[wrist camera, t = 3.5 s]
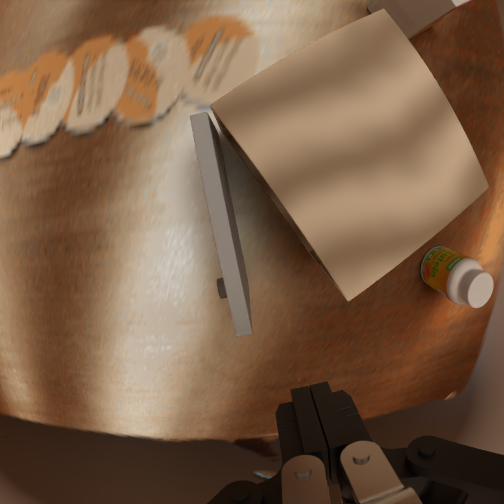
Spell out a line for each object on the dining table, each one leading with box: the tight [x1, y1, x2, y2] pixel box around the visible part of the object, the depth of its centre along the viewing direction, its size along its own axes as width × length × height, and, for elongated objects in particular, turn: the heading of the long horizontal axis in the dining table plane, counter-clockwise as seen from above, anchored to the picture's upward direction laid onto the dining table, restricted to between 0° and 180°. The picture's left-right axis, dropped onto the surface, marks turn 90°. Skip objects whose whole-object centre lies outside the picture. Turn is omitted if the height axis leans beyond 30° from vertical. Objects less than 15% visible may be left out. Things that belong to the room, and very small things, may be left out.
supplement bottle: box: [421, 246, 493, 308], centre depth 32 cm, size 5×5×10 cm
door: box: [190, 112, 252, 337], centre depth 28 cm, size 16×2×12 cm, turn 11°
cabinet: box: [210, 9, 489, 301], centre depth 27 cm, size 17×16×13 cm
